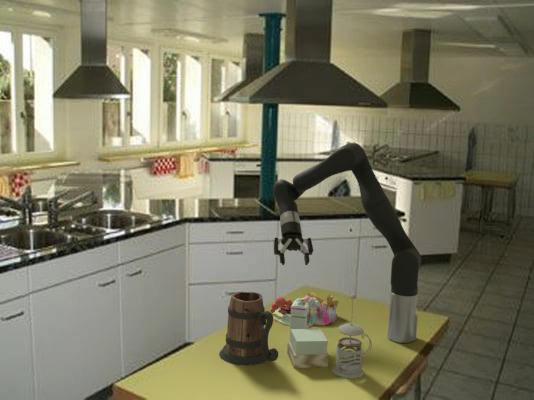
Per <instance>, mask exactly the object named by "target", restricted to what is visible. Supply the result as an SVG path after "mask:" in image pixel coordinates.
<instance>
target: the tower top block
mask: <svg viewBox="0 0 534 400" xmlns="http://www.w3.org/2000/svg"><path fill="white" fill-rule="evenodd" d="M289 342H290V343H291V345H292V348H293V350H294V352H295V354H296V355H321V354H327V353H328V339H327V337H326V336H325V333H323V331H322V329H321V328H309V329H291V333H290V332H289Z"/></svg>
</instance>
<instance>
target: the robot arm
mask: <svg viewBox="0 0 534 400" xmlns="http://www.w3.org/2000/svg"><path fill="white" fill-rule="evenodd" d="M350 171H351V172H352V174H353V176H354V178H355V179H356V181H357V183H358V187H359V193H360V194H359V195H360V199H361V200H360V201H361V204H362V208H363V210H364V211H365V213H366V215H367V217H368V219H369V220H370V222H371V223H372V225H373V226H374V227H375V228H376V230H378V232H379V233H380V234H381V235H382V236H383V237H384V239H385V240H386V241H387V243H388V245H389V247H390V249H391V251H392V254H393V257H392V260H391V269H390V270H391V271H390V289H391V290H390V301H389V302H390V303H389V310H388V311H389V313H388V327H387V338H388V339H389V340H390V341H392V342H395V343H400V344H408V343H412V342H416V340H417V330H418V318H419V316H418V314H417V303H418V294H419V293H418V292H419V287H418V281H419V280H418V279H419V268H420V266H421V264H422V256H421V253H420V252H419V250H418V249H417V247H416V246H415V245H414V243H413V242H412V241H411V239H410V237H409V236H408V234H407V233H406V231H405V229H404V227H403V225H402V223H401V221H400V219H399V217H398V214H397V212H396V211H395V209H394V207H393V205H392V202H391V201H390V199H389V198H388V196H387V194H386V192H385V191H384V189H383V187H382V185H381V183H380V182H379V181H380V180H378V178H377V176H376V174H375V172H374V170H373V168H372V165H371V162H370V160H369V158H368V156H367V153H366V152H365V150H364V148H363V147H362V146H361V145H360V144H358V143H356V142H355V143H354V142H351V143H347V144H344V145H342V146H340V147H338V148H337V149H336V150H335V151H334V152H332V154H330V155H329V156H328V157H327V158H325V159H324V160H322V161H321V162H319V163H316V164H315V165H313V166H311V167H309V168H307V169H305V170H303V171H301V172H300V173H297V174H296V175H294V177H293V179H292V183H291V182H290V181H287V180H286V179H282V178H281V179H278V180H277V181H276V182H275V183H274V185H273V189H272V192H273V197H274V199H275V202H276V204H277V206H278V209H279V210H278V211H279V217H280V218H279V219H280V220H279V227H280V233H281V234H280V235H281V238H278V237H274V240H273V254H274V255H277V256H278V257H279V263H280V264H281V265H282V266H285V263H286V260H285V259H286V258H285V253H286V251H289V252H291V251H297V252H299V253H301V254H303V258H304V259H303V260H304V265H305V266H308V264H309V263H310V256H312V255H313V252H314V247H313V243H312V238H311V237H308V238H303V235H302V233H303V232H302V225H301V219H300V215H299V210H298V209H299V208H298V204H297V202H296V201H297V200H298V199H299V198H300V197H301V196H302V195H303V194H304V193H305V192H306V191H308V190H310V189H311V188H313V187H315V186H317V185H320V183H322V182H323V181H326V179H328V178H330V177H333V176H335V175H339V174H342V173H344V172H350ZM280 244H281V245H282V246H283V247H282V248H281V249H279V245H280ZM304 244H305V245H306V246H305V245H304ZM306 247H307V248H306Z"/></svg>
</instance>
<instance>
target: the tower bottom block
mask: <svg viewBox="0 0 534 400" xmlns="http://www.w3.org/2000/svg"><path fill="white" fill-rule="evenodd" d="M286 348H287V349H286V354H287V356H288V358H289V360H290V363H291V365H292V368H293V369H305V368H307V369H308V368H309V369H310V368H328V367H329V365H328V364H329V353H328V352H327V354H321V355H296V354H295V352H294V350H293V348H292V345H291V343H290V341H287V347H286Z"/></svg>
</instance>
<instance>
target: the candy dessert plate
mask: <svg viewBox="0 0 534 400" xmlns="http://www.w3.org/2000/svg"><path fill="white" fill-rule="evenodd" d="M333 299H334V296H333V295H331V294H329V295H327V298H326V301H325V300H324V299H323V298H322V297H321V296H318V295H317V294H316V293H314V292H312V291H310V292H307V294H306V296H304V297H299V298H296V299H295V300H294V301H305V302H309V328H311V327H313V326H328V325H330V324H332V323H333V324H334V323H335V321H336V320H337V315H338V314H336V312H337V307H338V304H339V300H333ZM292 304H293V301H292V299H290V298H289V299H285V298H284V297H282V296H278V297H277V298H276V299H275V302H273V303H272V304H271V308H270V310H269V312H271V313H272V315H273V321H276V322H278V324H281V325H284V326H288V327H290V322H291V306H292Z"/></svg>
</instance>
